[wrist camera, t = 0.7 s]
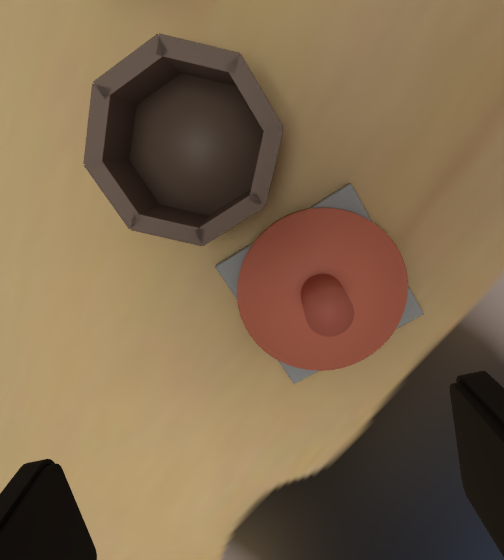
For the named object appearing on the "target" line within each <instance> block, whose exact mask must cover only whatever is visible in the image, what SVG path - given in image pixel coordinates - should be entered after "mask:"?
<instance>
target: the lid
mask: <svg viewBox="0 0 504 560" xmlns="http://www.w3.org/2000/svg"><path fill="white" fill-rule="evenodd" d="M407 295H408V279H407V272H406V268H405V264H404V261H403V259H402V256H401V254H400V252H399V250H398V248H397V247H396V245H395V244H394V242H393V241H392V240H391V239H390V237H389V236H388V235H387V234H386V233H385V232H384V231H383V230H382V229H381V228H379V227H378V226H377V225H376V224H374V223H373V222H371V221H369V220H368V219H366V218H365V217H363V216H360V215H358V214H356V213H354V212H350V211H347V210H344V209H338V208H327V207H319V208H309V209H305V210H301V211H297V212H294V213H292V214H289V215H287V216H285V217H283V218H281V219H279V220H277V221H276V222H275V223H273V224H272V225H270V226H269V227H268V228H267V229H266V230H264V231H263V232H262V233H261V234H260V235H259V236H258V238H257V239H256V240H255V241H254V242H253V244H252V245H251V247H250V249H249V250H248V252H247V254H246V256H245V258H244V260H243V263H242V266H241V270H240V273H239V279H238V285H237V299H238V307H239V311H240V315H241V318H242V320H243V323H244V325H245V327H246V329H247V331H248V332H249V334H250V336H251V337H252V338H253V339H254V341H255V342H256V343H257V344H258V345H259V346H260V347H261V348H262V349H263V350H264V351H265V352H267V353H268V354H269V355H271V356H272V357H274V358H275V359H277V360H279V361H281V362H283V363H285V364H288V365H290V366H293V367H297V368H300V369H306V370H319V371H323V370H333V369H338V368H343V367H346V366H349V365H352V364H355V363H357V362H359V361H361V360H363V359H365V358H366V357H368V356H370V355H371V354H373V353H374V352H375V351H376V350H378V349H379V348H380V347H381V346H382V345H383V344H384V343H385V342H386V341H387V340H388V339H389V338H390V336H391V335H392V334H393V332H394V331H395V329H396V327H397V326H398V324H399V322H400V320H401V318H402V315H403V313H404V310H405V306H406V302H407Z"/></svg>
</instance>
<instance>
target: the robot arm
mask: <svg viewBox="0 0 504 560" xmlns="http://www.w3.org/2000/svg"><path fill="white" fill-rule="evenodd" d="M450 396H451V403H452V411H453V418H454V426H455V433H456V440H457V447H458V455H459V462H460V470H461V478H462V483H463V487H464V490H465V493H466V495H467V498H468V499H469V501H470V503H471V504H472V506H473V508H474V509H475V511H476V513H477V514H478V516H479V517H480V519H481V521H482V522H483V524H484V526H485V527H486V529H487V530H488V532H489V534H490V535H491V537H492V538H493V540H494V542H495V543H496V545H497V547H498V548H499V550H500V552H501V553H502V555H503V556H504V388H503V387H502V386H501V385H500V384H499V383H498V382H496V381H495V380H494V379H493V378H492V377H491V376H490V375H489V374H488V373H487V372H485V371H479V372H474V373H469V374H465V375H460V376H458V377H457V379H456V383H454V384H451V385H450ZM0 560H97V554H96V549H95V546H94V544H93V542H92V539H91V537H90V534H89V532H88V530H87V527H86V525H85V522H84V520H83V518H82V515H81V513H80V511H79V508H78V506H77V503H76V501H75V499H74V496H73V494H72V491H71V489H70V487H69V484H68V482H67V479H66V477H65V475H64V472H63V470H62V468H61V466H60V465H59V464H55V463H54V462H53V461H52V460H50V459H45V460H40V461H35V462H30V463H26V464H24V465H23V466H22V467H21V468H20V469H19V470H18V472H17V473H16V474H15V475H14V477H13V478H12V479H11V481H10V482H9V483H8V484H7V486H6V487H5V488H4V490H3V491H2V492H1V494H0Z"/></svg>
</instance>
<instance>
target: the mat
mask: <svg viewBox="0 0 504 560" xmlns="http://www.w3.org/2000/svg"><path fill="white" fill-rule="evenodd" d="M319 207H327V208H338V209H344V210H347V211H350V212H354V213H356V214H358V215H360V216H363V217H365V218H366V219H368V220H369V221H371V222H372V220H371V219H370V217H369V215H368V213H367V211H366V210H365V208H364V206H363V204H362V202H361V201H360V199H359V197H358V195H357V194H356V192H355V190H354V188H353V186H352V185H351V183H349V184H347V185H345V186H344V187H342V188H340V189H339V190H337V191H336V192H334V193H332V194H331V195H329V196H327V197H326V198H324V199H323V200H321V201H319V202H318V203H316V204H314V205H313V206H311V207H310V208H319ZM308 209H309V208H308ZM252 244H253V243H251V244H250V245H248V246H246V247H245V248H243V249H242V250H240V251H238V252H237V253H235V254H233V255H232V256H230V257H229V258H227V259H225V260H224V261H222V262H220V263H219V264H217V265H216V269H217V270H218V272H219V273H220V275H221V276H222V278H223V279H224V281H225V282H226V284H227V285H228V287H229V288H230V290H231V291H232V293H233V294H234V296H235V297H236V298H237V285H238V279H239V273H240V270H241V266H242V263H243V260H244V258H245V256H246V254H247V252H248V250H249V249H250V247H251V245H252ZM237 300H238V299H237ZM423 314H424V313H423V311H422V310H421V308H420V306H419V304H418V302H417V301H416V299H415V297H414V295H413V294H412V292H411V290H410V288H409V286H408V295H407V302H406V306H405V310H404V313H403V315H402V318H401V320H400V322H399V324H398V326H397V327H396V329H397V328H399V327H401V326H402V325H404V324H406V323H408V322H410V321H412V320H414V319H415V318H417V317H419V316H421V315H423ZM278 361H279V360H278ZM279 362H280V364H281V365H282V367H283V368H284V370H285V371H286V373H287V374H288V376H289V377H290V379H291V380H292V382H293V383H294V384H295V383H297V382H299V381H301V380H302V379H304V378H306V377H308V376H310V375H312V374H314V373H315V372H317V371H319V370H306V369H300V368H297V367H293V366H290V365H288V364H285V363H283V362H281V361H279Z"/></svg>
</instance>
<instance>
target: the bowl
mask: <svg viewBox="0 0 504 560" xmlns="http://www.w3.org/2000/svg"><path fill="white" fill-rule="evenodd" d="M282 128H283V126H282V124H281V122H280V120H279V119H278V117H277V115H276V114H275V112H274V110H273V108H272V107H271V105H270V103H269V101H268V100H267V98H266V96H265V95H264V93H263V91H262V89H261V88H260V86H259V84H258V83H257V81H256V79H255V77H254V76H253V74H252V72H251V70H250V69H249V67H248V65H247V64H246V62H245V60H244V58H243V57H242V55H241V54H240V53H238V52H234V51H229V50H225V49H221V48H217V47H213V46H209V45H205V44H200V43H196V42H192V41H188V40H184V39H180V38H176V37H172V36H167V35H163V34H159V35H158V34H156V35H155V36H154V37H152V38H151V39H150V40H148V41H147V42H146V43H144V44H143V45H142V46H140V47H139V48H138V49H136V50H135V51H134V52H132V53H131V54H130V55H128V56H127V57H126V58H124V59H123V60H122V61H120V62H119V63H118V64H116V65H115V66H114V67H112V68H111V69H110V70H108V71H107V72H106V73H104V74H103V75H102V76H100V77H99V78H98V79H96V80H95V81H94V84H92V91H91V100H90V109H89V118H88V128H87V137H86V146H85V155H84V164H85V165H84V166H85V168H86V169H87V171H88V172H89V173H90V175H91V176H92V178H93V179H94V180H95V182H96V183H97V185H98V186H99V187H100V189H101V190H102V192H103V193H104V194H105V196H106V197H107V199H108V200H109V202H110V203H111V204H112V206H113V207H114V209H115V210H116V211H117V213H118V214H119V216H120V217H121V218H122V220H123V221H124V223H125V224H126V225H127V227H128V228H129V229H130V228H131V230H133V231H137V232H142V233H146V234H151V235H155V236H160V237H164V238H168V239H173V240H177V241H182V242H186V243H191V244H195V245H199V246H202V245H203V246H204V245H205V244H207V243H209V242H210V241H212V240H213V239H215V238H216V237H218V236H220V235H221V234H223V233H224V232H226V231H228V230H229V229H231V228H232V227H234V226H236V225H237V224H239V223H240V222H242V221H243V220H245V219H247V218H248V217H250V216H251V215H253V214H255V213H256V212H258V211H259V210H261V209H262V208H264V207H265V206H266V202H267V198H268V193H269V189H270V185H271V180H272V176H273V172H274V167H275V163H276V159H277V155H278V150H279V146H280V142H281V137H282V133H283V129H282Z"/></svg>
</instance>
